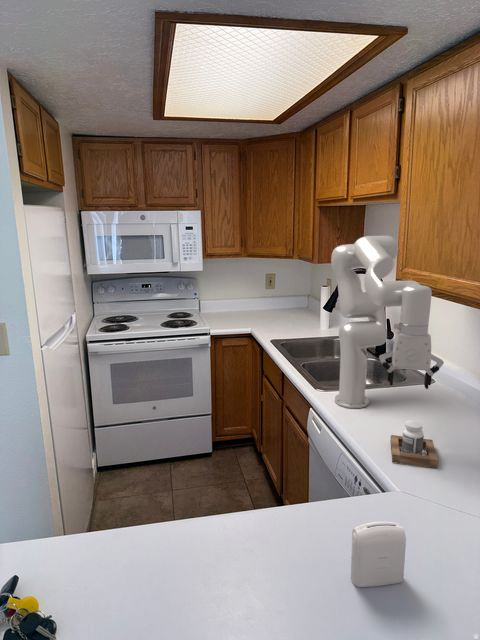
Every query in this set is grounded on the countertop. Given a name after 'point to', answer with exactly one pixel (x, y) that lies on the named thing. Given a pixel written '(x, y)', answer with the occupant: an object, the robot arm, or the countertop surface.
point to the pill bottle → (412, 438)
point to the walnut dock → (414, 459)
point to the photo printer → (378, 554)
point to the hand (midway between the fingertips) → (408, 385)
